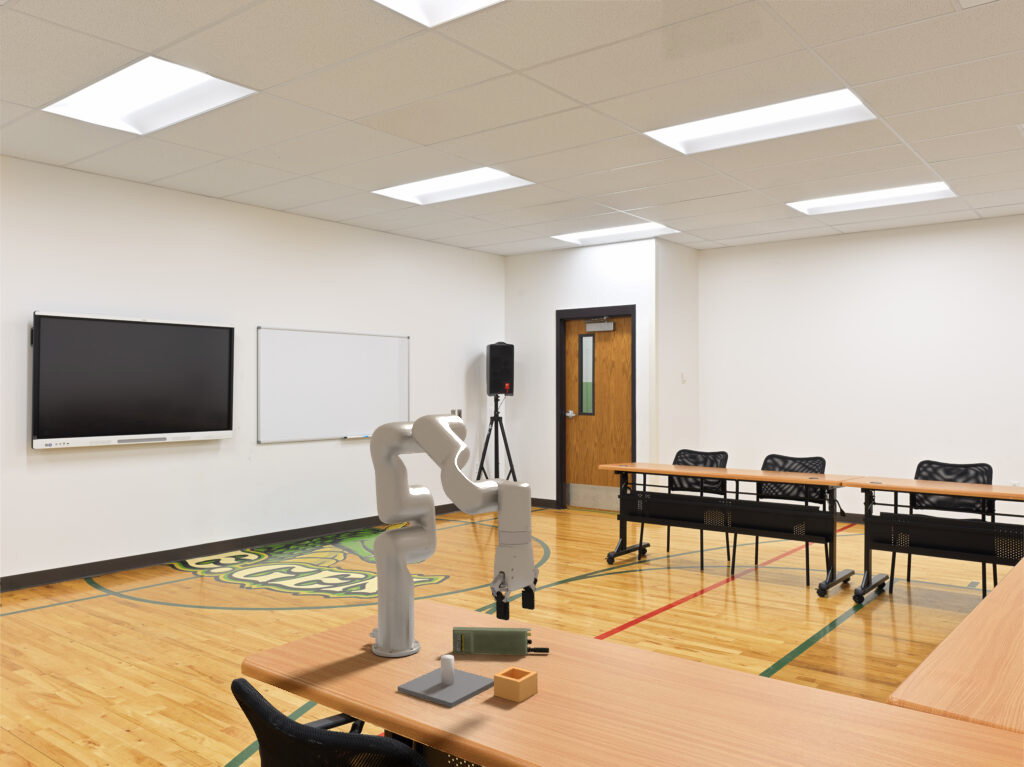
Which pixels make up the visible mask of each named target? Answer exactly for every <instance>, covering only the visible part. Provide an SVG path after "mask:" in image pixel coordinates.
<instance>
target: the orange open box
mask: <svg viewBox="0 0 1024 767" xmlns="http://www.w3.org/2000/svg"><path fill="white" fill-rule="evenodd" d="M493 679H494V686H493V695H494V697H498V698H501V699H505V700H509V701H511V702H512V701H513V702H516V703H522V702H523V701H525V700H527V699H529V698H530V697H532V696H534V695H535V694H536V695H537V693H538V691H539V690H538V687H539V686H538V671H533V670H529V669H526V668H522V667H517V666H514V665H512V666H510V667H508V668H505V669H504V670H501V671H500V672H497V673H495V674H494V675H493Z"/></svg>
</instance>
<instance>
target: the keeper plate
mask: <svg viewBox="0 0 1024 767" xmlns="http://www.w3.org/2000/svg"><path fill="white" fill-rule="evenodd" d="M492 687H494V678H491V677H486V676H483V675H481V674H480V675H479V674H475V673H472V672H468V671H465V670H461V669H457V668H455V657H454V655H452V654H443V655H441V656H440V667H439V668H436V669H433V670H431V671H430V672H427V673H425V674H422V675H421V676H418V677H416V678H414V679H412V680H410V681H407V682H405V683H402V684H400V685H398V686H397V692H400V693H402V694H406V695H409V696H412V695H413V697H415V696H416V698H419V699H422V698H423V699H422V700H425V699H426V701H428V700H429V701H428V702H432V703H436V704H439V705H441V706H445V707H448V708H451V709H452V708H453V707H456V706H458V705H459V704H461V703H463V702H465V701H468V700H470V699H471V698H473V697H475V696H477V695H478V694H479V695H480V694H481V693H482V692H484V691H487V690H488V689H490V688H492Z"/></svg>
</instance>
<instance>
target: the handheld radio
mask: <svg viewBox="0 0 1024 767" xmlns="http://www.w3.org/2000/svg"><path fill="white" fill-rule="evenodd" d="M531 631H532V628H530V627H529V628H527V627H523V628H522V627H481V626H480V627H479V626H478V627H475V626H473V627H472V626H452V654H458V653H462V654H463V655H466V654H468V655H469V654H470V655H501V654H511V655H510V656H528V653H535V654H537V653H538V654H540V653H541V654H542V653H543V654H549V653H550V648H549V647H538V646H537V647H536V646H535V647H530V646H528V645H532V644H533V641H532V639H529V638H528V637H531V636H532V633H531Z"/></svg>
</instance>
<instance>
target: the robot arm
mask: <svg viewBox="0 0 1024 767" xmlns="http://www.w3.org/2000/svg"><path fill="white" fill-rule="evenodd" d="M466 438H467V425H466V424H465V422H464V420H463V419H462V418H461V417H460V416H458V415H456V414H452V413H446V414H445V413H442V414H427V415H422V416H419V417H418V418H417V419H415V420H414V421H394V422H388V423H384V424H381V425H379V426H378V427H377V428H375V430H374V431H373V432H372V434H371V437H370V441H369V450H370V451H369V452H370V457H371V461H372V464H373V469H374V477H375V478H374V479H375V480H374V481H375V497H376V498H375V500H376V509H377V510H376V512H377V516H378V518H379V521H380V522H382V523H384V524H387V525H394V524H400V523H401V524H402V523H407V522H409V526H404V527H398V528H397V527H396V528H391V529H388V530H384V531H383V532H381V533H379V534H377V536H376V538H375V539H374V541H373V545H372V546H373V548H372V550H373V555H374V560H375V567H376V578H377V579H376V580H377V581H376V582H377V627H374V628H373V629H372V631H370V632H369V633H368V634H369V637H370V638H372V639H375V640H374V641H375V642H374V643H373V644H372V646H371V651H372V653H373V654H375V655H377V656H380V657H385V658H400V657H406V656H411V655H413V654H415V653H417V652H419V651H420V649H421V643H420V641H419V640H417V639H415V583H414V582H415V581H414V577H413V575H412V573H411V572H410V569H409V568H408V564H412V563H416V562H422V561H425V560H428V559H430V558H431V557H433V555H434V554H435V553H436V550H437V523H436V507H435V506H436V505H435V500H434V497H433V495H432V493H431V491H430V490H429V488H427V486H425V485H422V484H410V485H409V480H408V469H407V467H406V465H405V462H403V460H402V458H401V457H400V456H399V455H407V454H408V455H410V454H421V453H422V454H423V453H425V454H426V455H427V456H428V457H429V458H430V459H431V461H433V462H434V463H435V464H436V466H438V468H440V484H441V486H442V489H443V492H444V494H445V496H447V498H448V499H449V500H450V501H451V502H452V503H453V504H454V505H455V506H456V508H458V509H459V510H460V511H462V512H463V513H464V514H466V515H471V516H472V515H474V516H475V515H479V514H486V513H494V512H497V538H498V539H497V543H498V544H497V545H496V549H495V554H494V565H493V579H492V581H491V582H490V584H489V588H490V590H491V595H492V597H493V600H494V601H495V605H496V606H495V608H496V609H495V613H496V614H495V615H496V619H498V620H502V621H509V620H510V601H508V600H509V598H510V595H511V593H512V592H515V591H518V590H521V589H523V590H521V607H522V609H526V610H530V611H534V610H535V604H536V602H535V600H536V598H535V592H536V590H537V583H538V581H539V580H538V578H539V574H540V570H539V568H536V567H535V559H534V558H535V557H534V549H533V544H532V543H533V542H532V537H533V536H532V488H531V485H530V484H529V483H527V482H524V481H511V480H508V479H505V478H499V477H498V478H497V477H496V478H488V479H487V478H486V479H479V480H472V481H471V480H470V479H469V478H467V476H466V475H465V474H464V473H463V472H462V471H461V470H463V468H465V466H466V465H467V463H468V462H469V460H470V457H471V450H470V448H469V446H468V445H467V444H466V442H465V440H466ZM503 592H504V594H503Z"/></svg>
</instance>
